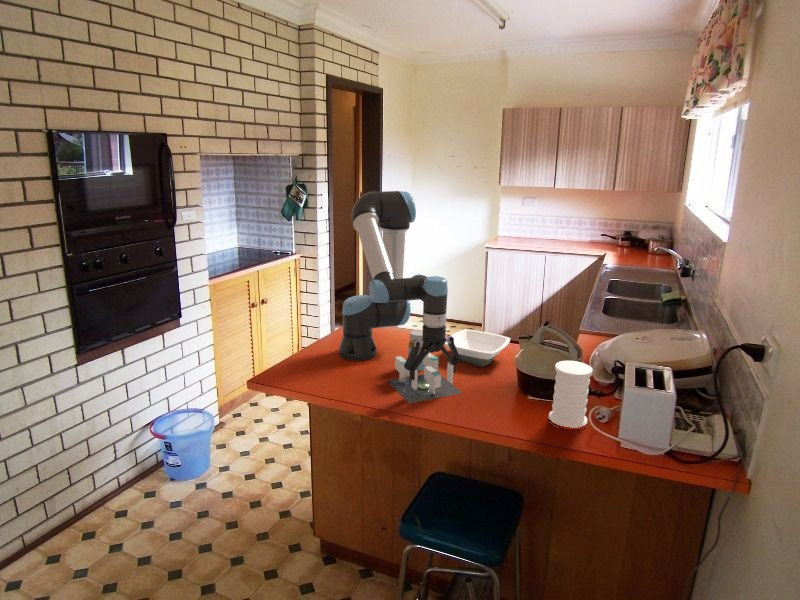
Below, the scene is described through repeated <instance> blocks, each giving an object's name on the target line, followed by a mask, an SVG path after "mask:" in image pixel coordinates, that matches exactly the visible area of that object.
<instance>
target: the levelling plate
mask: <svg viewBox="0 0 800 600" xmlns="http://www.w3.org/2000/svg"><path fill="white" fill-rule="evenodd" d="M386 382H387V383H388V384H389V385H390V386H391V387H392V388H393V389H394V390H395V391H396V392H397V393H398V394H399V395H400V396H401V397H402V398H403V399H404V400H405V401H406V402H407V403H408V404H413V403H418V402H419V403H420V402H424V401H429V400H435V399H440V398H445V397H450V396H455V395H461V394H463V392H462V391H461V390H460V389H459V388H458V387H456V386H454V385H453V383H450V382H448V381H447V378H445V377H444V376H442V375H441V387H437V388H435V394H429V383H428V382H427V381H426V380H425V379H424V373H423V374H417V390H414V389H413V388H412V387H411V384H412V380H411V379H410V378H409V376H405V382H404V383H400V382H399V378H395V379H394V378H393V379H389V380H386Z"/></svg>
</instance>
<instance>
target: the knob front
mask: <svg viewBox="0 0 800 600" xmlns="http://www.w3.org/2000/svg"><path fill="white" fill-rule="evenodd" d="M423 374H424V379H425V380H426V381H427V382H428V383H429V394H435V388H437V387H441V376H442V373H441V372H440V371H439V370H438V371H436V370H435V369H433V368H432V367H431V366H428V367H425V369H424V372H423Z"/></svg>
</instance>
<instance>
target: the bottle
mask: <svg viewBox="0 0 800 600" xmlns="http://www.w3.org/2000/svg"><path fill="white" fill-rule="evenodd" d="M422 339H423V329H413V330H411V331H410V332H409V342H408V356H409V354H410V352H411V350H412V347H413V342H414V340H417V341H422ZM422 347H423V345H421V348H422ZM421 348H419V351H418V354H419V352H420V350H421ZM425 351H426V349H425ZM418 354H417V355H418ZM425 367H426V366H425V365H423V360H422V362H421V363H420V365H419V366H418V367H417V369H416V370H417V371H418V372H423V371H424V369H425Z"/></svg>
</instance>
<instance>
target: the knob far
mask: <svg viewBox="0 0 800 600" xmlns="http://www.w3.org/2000/svg"><path fill="white" fill-rule="evenodd" d="M439 360H440V359H439V357H437V356H435V355H433V353H430V352H429V354H428V355H426V356H425V358H424V359H423V365H425V366H426V367H428V366H431V367H432V368H433V369H435V370H436V371H439Z"/></svg>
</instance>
